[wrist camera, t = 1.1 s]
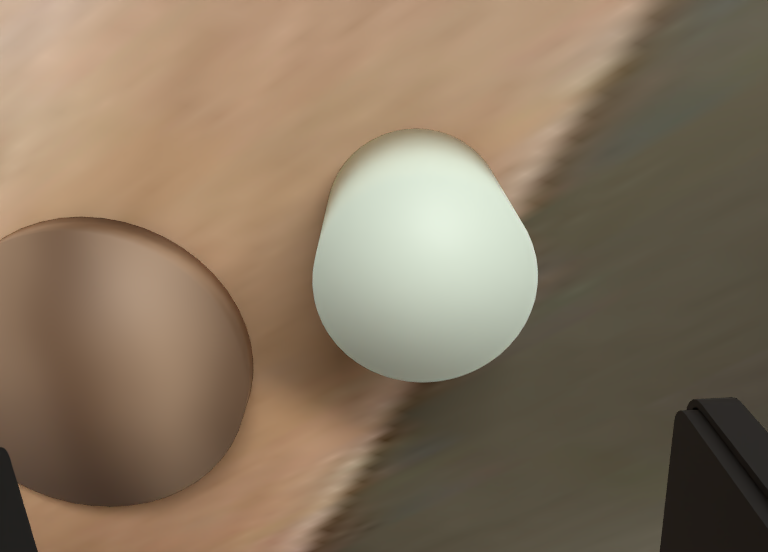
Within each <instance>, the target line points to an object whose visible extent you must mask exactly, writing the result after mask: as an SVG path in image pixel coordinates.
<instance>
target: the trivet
mask: <svg viewBox="0 0 768 552" xmlns="http://www.w3.org/2000/svg"><path fill="white" fill-rule="evenodd" d="M252 379H253V356H252V349H251V342H250V339H249V335H248V332H247V329H246V325H245V323H244V321H243V318H242V316H241V314H240V312H239V309H238V307H237V306H236V304H235V302H234V301H233V299H232V298H231V296H230V294H229V293H228V291H227V290H226V289H225V287H224V286H223V285H222V284H221V283H220V281H219V280H218V279H217V278H216V276H215V275H214V274H213V273H212V272H211V271H210V270H209V269H208V268H207V267H206V266H204V265H203V264H202V263H201V262H200V261H199V260H198V259H197V258H195V257H194V256H193V255H191V254H190V253H189V252H187V251H186V250H185V249H183V248H182V247H180V246H178V245H177V244H175V243H173V242H172V241H170V240H168V239H166V238H165V237H163V236H160V235H158V234H156V233H154V232H151V231H149V230H147V229H144V228H141V227H138V226H135V225H132V224H128V223H125V222H121V221H115V220H110V219H105V218H93V217H69V218H58V219H53V220H48V221H43V222H39V223H36V224H33V225H30V226H27V227H24V228H21V229H19V230H17V231H15V232H13V233H11V234H10V235H8V236H6V237H4V238H2V239H1V240H0V447H2V448H5V449H6V451H7V452H8V454H9V456H10V460H11V463H12V466H13V470H14V473H15V476H16V480H17V483H19V484H21V485H23V486H25V487H27V488H29V489H32V490H34V491H36V492H39V493H42V494H44V495H47V496H50V497H52V498H56V499H60V500H64V501H68V502H72V503H78V504H84V505H91V506H109V507H111V506H129V505H135V504H142V503H148V502H151V501H155V500H158V499H162V498H165V497H167V496H170V495H172V494H174V493H177V492H179V491H181V490H183V489H185V488H187V487H188V486H190V485H192V484H193V483H195V482H197V481H198V480H199V479H201V478H202V477H203V476H204V475H206V474H207V473H208V472H210V471H211V469H212V468H213V467H214V466H215V465H216V464H217V463H218V462H219V461H220V460H221V459H222V458H223V456H224V455H225V453H226V452H227V451H228V449H229V448H230V446H231V445H232V443H233V441H234V439H235V437H236V435H237V433H238V431H239V427H240V424H241V421H242V418H243V415H244V412H245V408H246V405H247V402H248V399H249V395H250V392H251V385H252Z"/></svg>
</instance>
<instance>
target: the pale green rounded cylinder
mask: <svg viewBox="0 0 768 552" xmlns="http://www.w3.org/2000/svg"><path fill="white" fill-rule="evenodd" d="M537 284H538V269H537V261H536V255H535V251H534V248H533V244H532V242H531V239H530V237H529V235H528V232H527V230H526V229H525V227H524V225H523V224H522V222H521V220H520V218H519V217H518V215H517V213H516V212H515V210H514V208H513V207H512V205H511V203H510V202H509V200H508V198H507V196H506V195H505V193H504V191H503V190H502V188H501V186H500V185H499V183H498V181H497V179H496V178H495V176H494V174H493V173H492V171H491V169H490V168H489V166H488V165H487V163H486V162H485V161H484V160H483V158H482V157H481V156H480V155H479V154H478V153H477V152H476V151H475V150H474V149H472V148H471V147H470V146H468V145H467V144H465V143H464V142H463V141H461V140H459V139H457V138H455V137H453V136H451V135H448V134H445V133H442V132H439V131H434V130H429V129H404V130H399V131H394V132H390V133H387V134H384V135H381V136H379V137H377V138H375V139H373V140H371V141H369V142H368V143H366V144H365V145H363V146H362V147H361V148H359V149H358V150H357V151H356V152H355V153H354V154H353V155H352V156H351V157H350V158H349V159H348V160H347V161H346V162H345V163H344V165H343V166H342V168H341V169H340V171H339V172H338V174H337V176H336V178H335V180H334V182H333V185H332V188H331V191H330V194H329V199H328V203H327V207H326V212H325V216H324V221H323V225H322V230H321V234H320V239H319V243H318V247H317V252H316V256H315V262H314V267H313V283H312V285H313V294H314V300H315V304H316V308H317V311H318V314H319V316H320V319H321V321H322V324H323V325H324V327H325V329H326V330H327V332H328V334H329V335H330V337H331V338H332V339H333V341H334V342H335V343H336V344H337V346H338V347H339V348H340V349H341V350H342V351H343V352H344V353H345V354H346V355H348V356H349V357H350V358H352V359H353V360H354V361H355V362H357V363H358V364H360V365H362V366H363V367H365V368H367V369H369V370H371V371H373V372H375V373H378V374H380V375H382V376H386V377H389V378H393V379H397V380H402V381H408V382H437V381H443V380H448V379H452V378H456V377H459V376H463V375H465V374H468V373H470V372H472V371H475V370H477V369H479V368H480V367H482V366H484V365H486V364H487V363H489V362H490V361H492V360H493V359H494V358H496V357H497V356H499V355H500V354H501V353H502V352H503V351H504V350H505V349H506V348H507V347H508V346H509V345H510V344H511V343H512V342H513V341H514V339H515V338H516V337H517V336H518V334H519V333H520V331H521V330H522V328H523V327H524V325H525V323H526V321H527V319H528V317H529V315H530V313H531V310H532V307H533V304H534V301H535V297H536V291H537Z"/></svg>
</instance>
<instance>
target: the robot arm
mask: <svg viewBox="0 0 768 552" xmlns="http://www.w3.org/2000/svg"><path fill="white" fill-rule="evenodd" d="M0 552H38V551H37V548H36V544H35V541H34V538H33V534H32V531H31V527H30V524H29V521H28V517H27V514H26V510H25V507H24V504H23V500H22V497H21V493H20V490H19V487H18V483H17V480H16V476H15V473H14V470H13V466H12V463H11V460H10V456H9V454H8V452H7V451H6V449H5V448H2V447H0ZM660 552H768V433H767V431H766V430H765V429H764V428H763V427H762V426H761V425H760V423H759V422H758V421H757V420H756V419H755V418H754V416H753V415H752V414H751V413H750V412H749V411H748V410H747V408H746V407H745V406H744V405H743V404H742V403H741V402H740V401H739V400H738V399H737V398H732V397H729V398H711V399H693V400H692V401H690V403H689V404H688V406H687V410H683V411H678V412H677V414H676V416H675V421H674V429H673V438H672V447H671V456H670V465H669V474H668V483H667V492H666V501H665V510H664V519H663V528H662V537H661V546H660Z"/></svg>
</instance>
